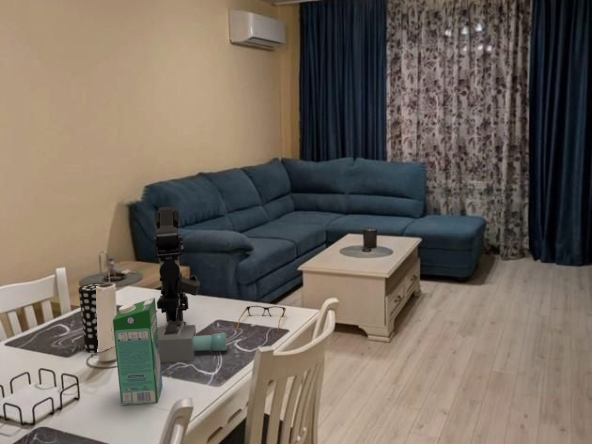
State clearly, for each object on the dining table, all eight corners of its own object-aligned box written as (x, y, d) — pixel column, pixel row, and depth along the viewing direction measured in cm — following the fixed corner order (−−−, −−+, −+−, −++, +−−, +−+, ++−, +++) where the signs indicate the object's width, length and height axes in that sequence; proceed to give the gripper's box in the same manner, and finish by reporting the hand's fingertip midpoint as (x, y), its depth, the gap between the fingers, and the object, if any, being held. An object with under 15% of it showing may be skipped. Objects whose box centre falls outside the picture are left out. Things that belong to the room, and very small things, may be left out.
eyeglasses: (286, 317, 201) (286, 306, 200) (278, 332, 187) (277, 321, 187) (247, 315, 204) (247, 305, 203) (236, 331, 190) (236, 319, 189)
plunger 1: (169, 324, 175) (169, 319, 174) (180, 323, 175) (180, 318, 175) (168, 327, 172) (168, 323, 171) (179, 327, 172) (178, 322, 171)
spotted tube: (104, 353, 174) (97, 291, 170) (79, 352, 176) (72, 290, 172) (117, 343, 182) (111, 283, 178) (94, 341, 184) (88, 282, 180)
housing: (158, 348, 177) (155, 322, 175) (196, 345, 178) (195, 320, 176) (151, 363, 166) (149, 336, 164) (193, 360, 167) (191, 333, 165)
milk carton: (128, 388, 151) (119, 299, 146) (162, 386, 152) (155, 297, 147) (121, 405, 142) (111, 311, 137) (157, 402, 143) (149, 308, 138)
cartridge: (158, 357, 169) (157, 340, 168) (161, 350, 174) (160, 334, 173) (225, 353, 170) (224, 336, 169) (226, 346, 175) (225, 330, 174)
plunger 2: (166, 329, 169) (166, 324, 168) (177, 328, 169) (177, 324, 169) (165, 333, 166) (164, 328, 165) (176, 333, 166) (175, 328, 165)
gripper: (194, 279, 161) (197, 331, 164) (200, 262, 180) (203, 309, 183) (154, 281, 161) (158, 333, 164) (164, 264, 179) (168, 311, 182)
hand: (174, 321), depth 173 cm, fingers closed, pressing on plunger 1
